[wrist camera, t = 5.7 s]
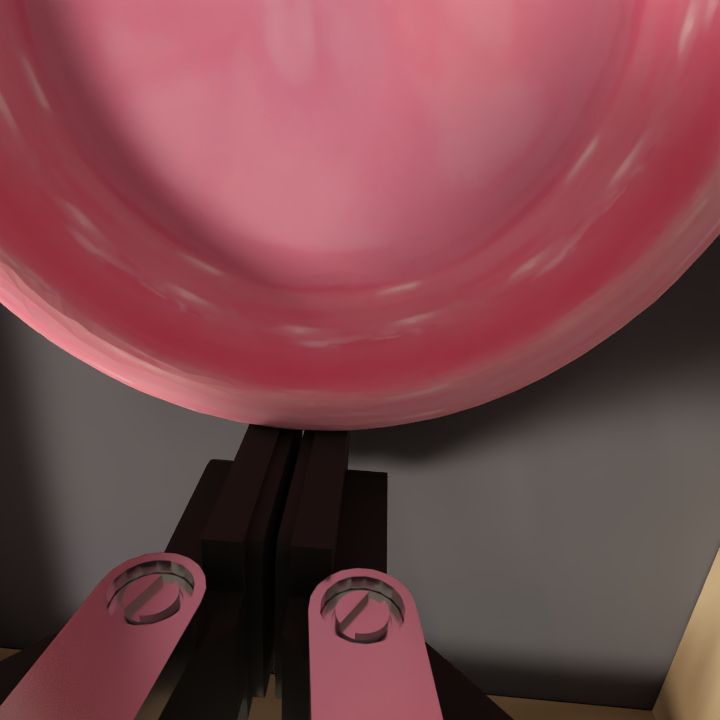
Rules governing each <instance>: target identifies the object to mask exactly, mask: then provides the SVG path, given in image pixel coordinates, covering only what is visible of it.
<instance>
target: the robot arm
mask: <svg viewBox="0 0 720 720" xmlns="http://www.w3.org/2000/svg"><path fill="white" fill-rule="evenodd" d="M349 439H350V430H346V431H320V430H304V434H303V438H302V430H295V429H283V428H274V427H268V426H261V425H255V424H249V427H248V429H247V431H246V434H245V436H244V438H243V441H242V443H241V445H240V448H239V450H238V453H237V455H236V457H235V460H234V461H230V460H217V459H212V460H210V461H209V463H208V464H207V466H206V468H205V470H204V472H203V474H202V476H201V478H200V480H199V483H198V485H197V487H196V489H195V491H194V493H193V495H192V497H191V499H190V501H189V503H188V505H187V507H186V509H185V511H184V513H183V515H182V517H181V519H180V521H179V523H178V525H177V527H176V529H175V531H174V533H173V536H172V538H171V540H170V542H169V544H168V546H167V548H166V550H165V552H164V553H162V552H160V553H153V554H145V555H142V556H139V557H136V558H133V559H130V560H128V561H126V562H124V563H123V564H121V565H119V566H117V567H116V568H114V569H113V570H112V571H111V572H110V573H108V574H107V575H106V576H105V577H104V578H103V579H102V580H101V581H100V583H99V584H98V585H97V586H96V588H95V589H94V590H93V591H92V593H91V594H90V595H89V596H88V598H87V599H86V600H85V601H84V603H83V604H82V605H81V606H80V608H79V609H78V610H77V611H76V613H75V614H74V615H73V616H72V617H71V619H70V620H69V621H68V622H67V624H66V625H65V626H64V627H63V629H62V630H61V631H59V632H57V633H55V634H53V635H51V636H49V637H47V638H45V639H43V640H41V641H39V642H37V643H35V644H33V645H31V646H29V647H27V648H25V649H23V650H21V651H19V652H17V653H15V654H13V655H11V656H9V657H7V658H5V659H3V660H1V661H0V720H248V717H249V713H250V709H251V704H252V700H253V697H259V698H265V696H266V693H267V688H268V684H269V679H270V674H271V669H272V664H273V659H274V655H275V698H276V699H282V718H281V720H514V719H513V718H512V717H511V716H509V715H508V714H507V713H506V712H505V711H504V710H503V709H501V708H500V707H499V706H498V705H497V704H496V703H495V702H493V701H492V700H491V699H490V698H489V697H488V696H487V695H485V694H484V693H483V692H482V691H481V690H480V689H479V688H477V687H476V686H475V685H474V684H473V683H472V682H471V681H469V680H468V679H467V678H466V677H465V676H464V675H463V674H461V673H460V672H459V671H458V670H457V669H456V668H455V667H453V666H452V665H451V664H450V663H449V662H448V661H447V660H446V659H444V658H443V657H442V656H441V655H440V654H439V653H438V652H436V651H435V650H434V649H433V648H432V647H431V646H430V645H428V644H427V643H426V642H425V641H424V637H423V633H422V628H421V624H420V620H419V616H418V611H417V607H416V604H415V602H414V600H413V597H412V595H411V593H410V592H409V591H408V590H407V589H406V587H405V586H404V585H403V584H402V583H401V582H399V581H398V580H396V579H395V578H393V577H392V576H390V575H388V574H387V473H385V472H372V471H359V470H348V456H349Z"/></svg>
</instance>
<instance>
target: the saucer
mask: <svg viewBox="0 0 720 720" xmlns="http://www.w3.org/2000/svg"><path fill="white" fill-rule="evenodd" d="M719 234H720V0H0V302H1V303H2V304H3V305H4V306H5V307H6V308H8V309H9V310H10V311H11V312H12V313H14V314H15V315H16V316H18V317H19V318H20V319H21V320H23V321H24V322H25V323H26V324H28V325H29V326H30V327H32V328H33V329H34V330H36V331H37V332H39V333H40V334H42V335H43V336H44V337H46V338H47V339H48V340H50V341H51V342H53V343H54V344H56V345H57V346H59V347H61V348H62V349H64V350H65V351H67V352H68V353H70V354H71V355H73V356H75V357H77V358H78V359H80V360H82V361H84V362H85V363H87V364H89V365H91V366H92V367H94V368H96V369H97V370H99V371H101V372H103V373H105V374H107V375H109V376H111V377H113V378H115V379H117V380H118V381H120V382H122V383H124V384H126V385H128V386H131V387H133V388H135V389H137V390H139V391H142V392H144V393H146V394H149V395H152V396H155V397H157V398H160V399H163V400H166V401H168V402H171V403H174V404H176V405H179V406H182V407H184V408H187V409H190V410H194V411H197V412H200V413H204V414H208V415H213V416H217V417H221V418H225V419H229V420H233V421H237V422H243V423H249V424H255V425H261V426H268V427H274V428H283V429H295V430H320V431H346V430H362V429H371V428H380V427H389V426H395V425H401V424H407V423H413V422H418V421H423V420H428V419H434V418H438V417H442V416H446V415H449V414H453V413H456V412H459V411H463V410H466V409H469V408H472V407H476V406H479V405H482V404H484V403H487V402H490V401H492V400H495V399H497V398H499V397H502V396H504V395H507V394H509V393H512V392H514V391H517V390H519V389H521V388H523V387H525V386H527V385H529V384H531V383H533V382H535V381H538V380H540V379H542V378H544V377H545V376H547V375H549V374H551V373H552V372H554V371H556V370H558V369H559V368H561V367H563V366H565V365H566V364H568V363H570V362H572V361H573V360H575V359H577V358H579V357H580V356H582V355H583V354H585V353H586V352H588V351H589V350H590V349H592V348H593V347H595V346H596V345H598V344H599V343H601V342H602V341H604V340H605V339H607V338H608V337H609V336H611V335H612V334H614V333H615V332H617V331H618V330H620V329H621V328H622V327H623V326H625V325H626V324H627V323H628V322H630V321H631V320H632V319H633V318H635V317H636V316H637V315H638V314H640V313H641V312H642V311H644V310H645V309H646V308H648V307H649V306H650V305H651V304H653V303H654V302H655V301H656V300H657V299H658V298H659V297H660V296H661V295H662V294H663V293H665V292H666V291H667V290H668V289H669V288H670V287H671V286H672V285H673V284H674V283H675V282H676V281H677V280H678V279H679V278H680V277H681V276H682V275H683V274H684V272H685V271H686V270H687V269H688V268H689V267H690V266H691V265H692V264H693V263H694V262H695V261H696V260H697V259H698V257H699V256H700V255H701V254H702V253H703V252H704V251H705V250H706V249H707V248H708V246H709V245H710V244H711V243H712V242H713V241H714V240H715V239H716V238H717V236H718V235H719Z"/></svg>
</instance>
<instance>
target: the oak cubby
mask: <svg viewBox="0 0 720 720" xmlns="http://www.w3.org/2000/svg"><path fill="white" fill-rule="evenodd" d="M19 651H21V650H16V649H6V648H0V661H1V660H3V659H5V658H7V657H9V656H11V655H13V654H15V653H17V652H19ZM487 696H488V697H489V698H490V699H491V700H492V701H493V702H495V703H496V704H497V705H498V706H499V707H500V708H501V709H503V710H504V711H505V712H506V713H507V714H508V715H509V716H511V717H512V718H513V719H514V720H720V548H719V550H718V553H717V555H716V558H715V560H714V562H713V565H712V567H711V570H710V572H709V575H708V577H707V579H706V582H705V584H704V587H703V589H702V592H701V594H700V596H699V599H698V601H697V604H696V606H695V608H694V611H693V613H692V616H691V618H690V621H689V623H688V625H687V628H686V630H685V633H684V635H683V637H682V640H681V642H680V645H679V647H678V650H677V652H676V654H675V657H674V659H673V662H672V664H671V667H670V669H669V671H668V674H667V676H666V679H665V681H664V683H663V686H662V688H661V691H660V693H659V696H658V698H657V700H656V703H655V705H654V708H653V710H652V711H648V710H637V709H627V708H617V707H606V706H596V705H586V704H575V703H565V702H555V701H544V700H534V699H524V698H513V697H503V696H492V695H487ZM281 718H282V699H276V698H275V674H270V679H269V684H268V688H267V693H266V696H265V698H259V697H253V700H252V704H251V709H250V713H249V717H248V720H281Z"/></svg>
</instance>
